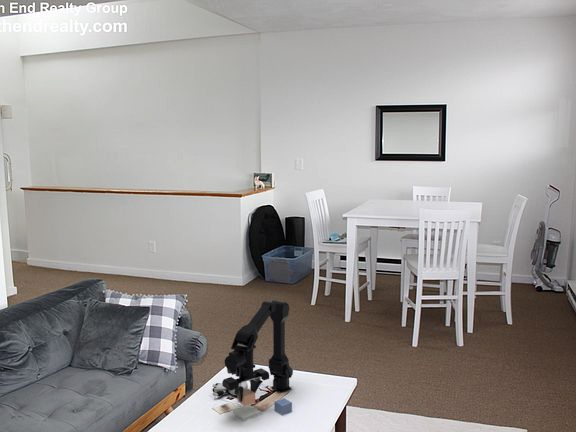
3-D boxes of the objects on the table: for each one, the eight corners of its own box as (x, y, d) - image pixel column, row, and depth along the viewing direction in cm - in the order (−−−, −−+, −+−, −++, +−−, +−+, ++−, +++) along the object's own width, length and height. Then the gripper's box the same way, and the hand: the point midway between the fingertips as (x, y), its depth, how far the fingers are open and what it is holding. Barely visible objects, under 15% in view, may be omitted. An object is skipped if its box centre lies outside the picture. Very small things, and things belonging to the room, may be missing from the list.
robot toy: (213, 403, 238) (249, 397, 241) (212, 392, 238) (248, 387, 240) (212, 390, 250) (246, 385, 253) (211, 380, 250) (245, 375, 252)
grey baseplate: (249, 407, 232) (249, 404, 232) (260, 414, 226) (260, 411, 226) (232, 412, 228) (232, 410, 227) (243, 420, 221) (243, 417, 221)
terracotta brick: (248, 398, 230) (248, 388, 229) (255, 402, 226) (255, 392, 225) (237, 401, 227) (237, 391, 226) (244, 406, 223) (244, 396, 222)
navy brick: (284, 407, 233) (284, 398, 232) (291, 411, 229) (291, 402, 228) (274, 411, 230) (274, 401, 229) (282, 415, 226) (282, 406, 225)
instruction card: (231, 402, 237) (231, 401, 236) (239, 407, 232) (239, 407, 232) (212, 408, 231) (212, 407, 231) (219, 414, 226) (219, 413, 226)
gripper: (254, 350, 236) (254, 386, 238) (214, 361, 225) (215, 398, 227) (270, 358, 227) (270, 396, 229) (229, 370, 216) (230, 409, 218)
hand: (246, 399), depth 226 cm, fingers closed on terracotta brick, 5 cm apart
